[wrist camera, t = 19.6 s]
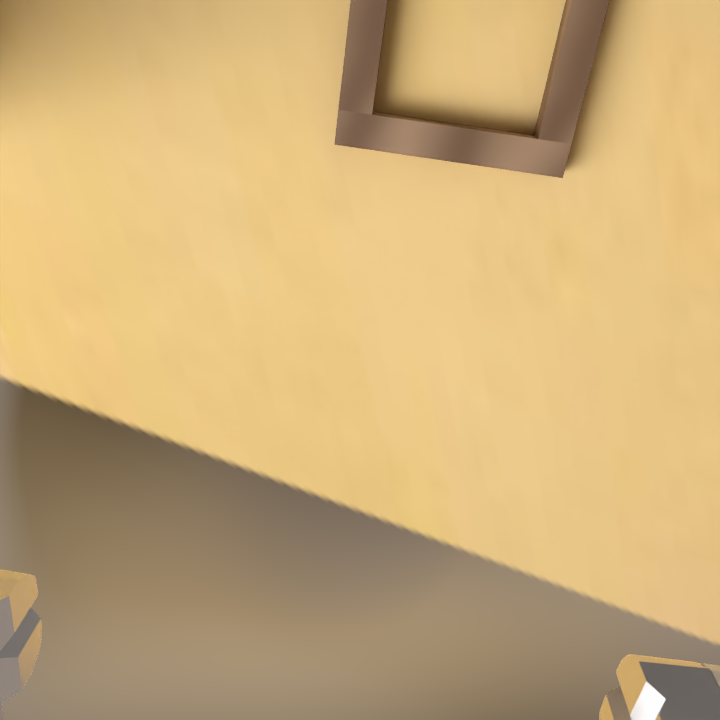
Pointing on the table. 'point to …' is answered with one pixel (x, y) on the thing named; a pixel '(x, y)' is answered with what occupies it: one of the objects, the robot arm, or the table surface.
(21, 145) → the table surface
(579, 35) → the brown wooden square frame
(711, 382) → the table surface
